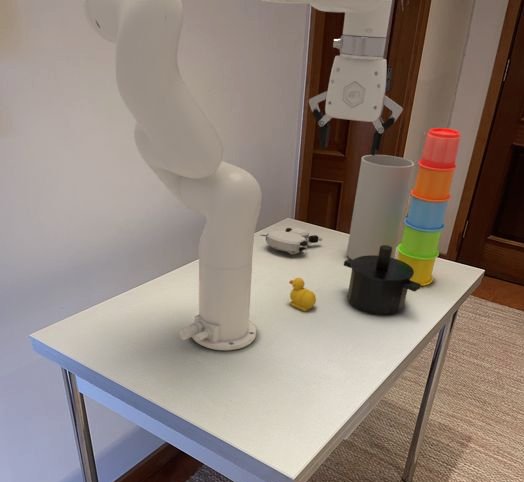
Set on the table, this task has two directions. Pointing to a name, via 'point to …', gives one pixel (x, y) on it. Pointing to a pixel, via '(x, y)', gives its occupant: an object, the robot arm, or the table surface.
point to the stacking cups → (429, 203)
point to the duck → (301, 295)
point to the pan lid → (382, 267)
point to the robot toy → (290, 240)
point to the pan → (377, 294)
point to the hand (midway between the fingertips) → (348, 150)
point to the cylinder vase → (379, 204)
